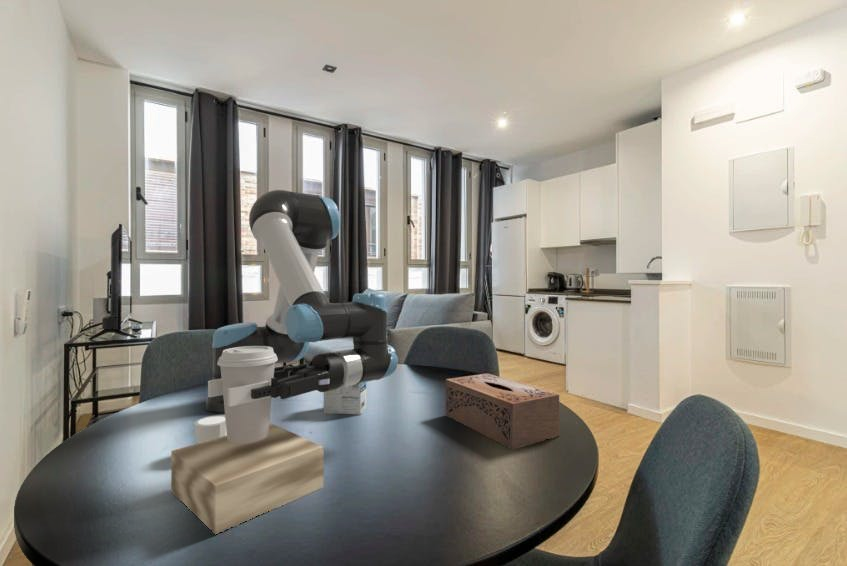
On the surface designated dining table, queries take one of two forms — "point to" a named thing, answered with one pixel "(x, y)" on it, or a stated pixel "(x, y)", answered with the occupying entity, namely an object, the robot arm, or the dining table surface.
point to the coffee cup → (242, 370)
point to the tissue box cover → (503, 409)
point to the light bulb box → (346, 400)
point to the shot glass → (210, 428)
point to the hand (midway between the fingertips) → (218, 393)
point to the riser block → (245, 476)
